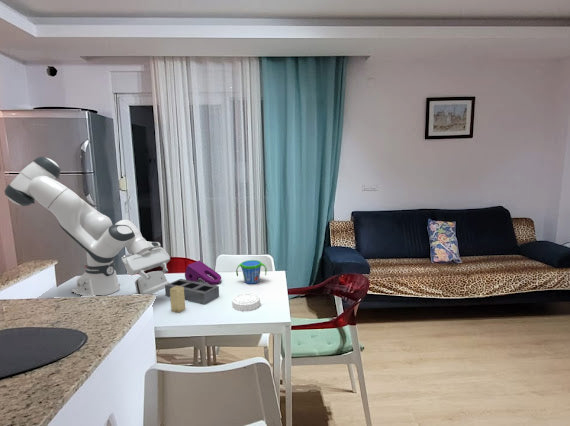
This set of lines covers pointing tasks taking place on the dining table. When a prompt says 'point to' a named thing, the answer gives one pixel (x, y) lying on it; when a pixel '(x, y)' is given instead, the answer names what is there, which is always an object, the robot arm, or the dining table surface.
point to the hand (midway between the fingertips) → (157, 275)
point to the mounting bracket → (202, 273)
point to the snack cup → (251, 271)
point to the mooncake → (246, 302)
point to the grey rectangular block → (195, 291)
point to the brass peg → (177, 299)
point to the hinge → (151, 283)
